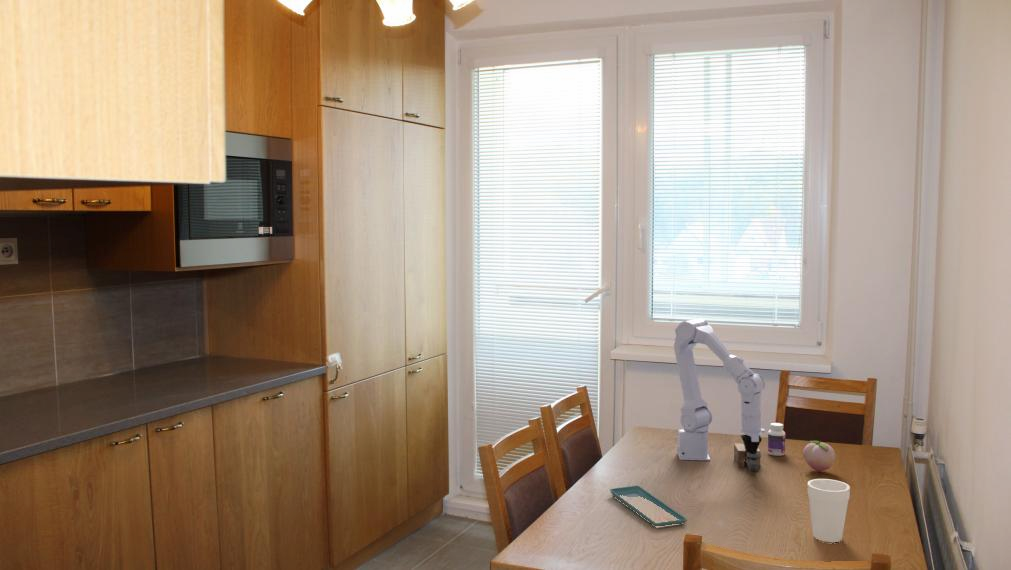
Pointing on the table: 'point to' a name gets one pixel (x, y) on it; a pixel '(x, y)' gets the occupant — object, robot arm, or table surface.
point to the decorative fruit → (819, 455)
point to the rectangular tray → (638, 491)
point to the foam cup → (828, 508)
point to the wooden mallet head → (741, 454)
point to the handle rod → (752, 461)
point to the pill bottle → (776, 440)
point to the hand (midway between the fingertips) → (750, 459)
